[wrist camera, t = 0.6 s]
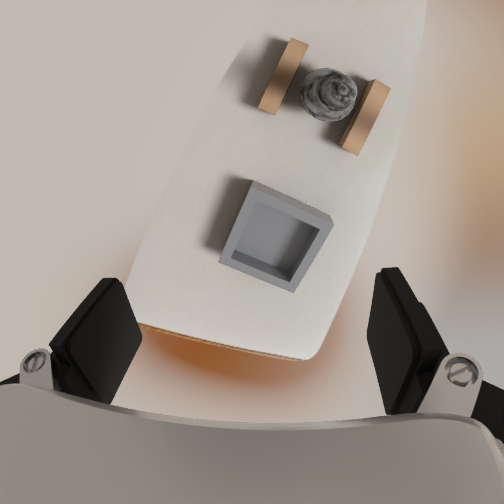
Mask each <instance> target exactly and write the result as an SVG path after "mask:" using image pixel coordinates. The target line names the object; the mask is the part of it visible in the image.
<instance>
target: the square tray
mask: <svg viewBox="0 0 504 504" xmlns="http://www.w3.org/2000/svg"><path fill="white" fill-rule="evenodd" d="M333 226H334V224H333V221H332V219H331V217H330V215H327V214H325V213H323V212H321V211H319V210H317V209H315V208H313V207H311V206H309V205H306V204H304V203H302V202H300V201H298V200H296V199H294V198H291V197H289V196H287V195H285V194H283V193H280V192H278V191H276V190H274V189H271V188H269V187H267V186H265V185H262V184H260V183H258V182H255V181H253V182H252V184H251V187H250V189H249V191H248V193H247V196H246V198H245V200H244V203H243V205H242V207H241V209H240V212H239V214H238V216H237V219H236V221H235V223H234V225H233V228H232V230H231V232H230V235H229V237H228V239H227V242H226V244H225V246H224V249H223V251H222V254H221V256H220V259H219V261H218V262H219V263H221V264H224V265H226V266H229V267H231V268H233V269H236V270H238V271H241V272H243V273H246V274H248V275H250V276H253V277H255V278H258V279H260V280H263V281H265V282H268V283H270V284H273V285H275V286H278V287H280V288H283V289H285V290H288V291H290V292H293V293H294V292H295V290H296V288H297V287H298V285H299V284H300V282H301V280H302V279H303V277H304V275H305V274H306V272H307V270H308V269H309V267H310V265H311V264H312V262H313V260H314V259H315V257H316V255H317V254H318V252H319V250H320V248H321V247H322V245H323V243H324V242H325V240H326V238H327V236H328V235H329V233H330V231H331V229H332V228H333Z"/></svg>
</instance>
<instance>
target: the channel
mask: <svg viewBox="0 0 504 504" xmlns="http://www.w3.org/2000/svg"><path fill="white" fill-rule="evenodd" d="M307 48H308V44H305V43H303V42H301V41H298V40H296V39H294V38H291V39H290V41H289V43H288V45H287V47H286V49H285V51H284V53H283V55H282V57H281V59H280V61H279V63H278V65H277V67H276V69H275V72H274V74H273V76H272V78H271V80H270V82H269V84H268V86H267V89H266V91H265V93H264V95H263V97H262V99H261V102H260V104H259V106H258V108H259V109H261V110H264V111H266V112H268V113H271V114H273V115H276V113H277V110H278V108H279V106H280V104H281V102H282V100H283V98H284V95H285V93H286V91H287V89H288V87H289V85H290V83H291V81H292V79H293V77H294V74H295V72H296V70H297V68H298V66H299V64H300V62H301V60H302V58H303V56H304V54H305V52H306V50H307ZM390 89H391V88H389V87H388V86H386V85H384V84H383V83H381V82H379V81H378V80H376V79H375V80H371V81H369V82H368V85H367V87H366V89H365V91H364V93H363V95H362V97H361V99H360V101H359V103H358V105H357V107H356V109H355V111H354V114H353V116H352V118H351V120H350V122H349V124H348V126H347V128H346V130H345V132H344V134H343V136H342V138H341V140H340V142H339V144H338V145H339V146H340V147H342V148H344V149H346V150H348V151H350V152H351V153H353V154H355V155H357V156H358V155H359V153H360V151H361V149H362V147H363V145H364V143H365V141H366V139H367V137H368V135H369V133H370V131H371V129H372V127H373V125H374V123H375V121H376V119H377V116H378V114H379V112H380V110H381V108H382V106H383V104H384V102H385V100H386V98H387V96H388V94H389V91H390Z"/></svg>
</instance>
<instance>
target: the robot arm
mask: <svg viewBox="0 0 504 504" xmlns="http://www.w3.org/2000/svg"><path fill="white" fill-rule="evenodd" d="M141 341H142V333H141V331H140V328H139V326H138V323H137V321H136V318H135V316H134V313H133V311H132V308H131V306H130V303H129V300H128V298H127V295H126V292H125V289H124V287H123V284H122V283H121V282H119V280H118V279H117V278H103V279H102V280H101V281H100V282H99V283H98V284H97V285H96V286H95V288H94V289H93V290H92V291H91V292H90V293H89V295H88V296H87V297H86V298H85V299H84V300H83V302H82V303H81V304H80V305H79V306H78V308H77V309H76V310H75V311H74V313H73V314H72V315H71V316H70V318H69V319H68V320H67V321H66V323H65V324H64V325H63V326H62V328H61V329H60V330H59V332H58V333H57V334H56V335H55V337H54V338H53V340H52V341H51V342H50V343H49V346H50V347H51V349H52V351H53V352H52V353H51V354H50V353H49V352H48V350H46V349H36V350H33V351H32V352H30V353H29V354H27V355H26V356H25V357H24V359H23V360H22V362H21V365H20V373H19V374H17V375H15V376H13V377H10V378H8V379H6V380H4V381H2V382H0V504H504V390H503V389H500V388H498V387H496V386H494V385H492V384H490V383H488V382H486V381H483V380H482V378H483V372H482V368H481V366H480V364H479V363H478V361H476V360H475V359H474V358H473V357H471V356H469V355H467V354H463V353H453V354H449V352H448V350H447V348H446V346H445V344H444V342H443V340H442V338H441V336H440V334H439V332H438V331H437V329H436V327H435V325H434V323H433V321H432V319H431V317H430V315H429V314H428V312H427V310H426V308H425V307H424V305H423V304H422V303H421V302H418V300H417V298H416V297H415V295H414V293H413V291H412V289H411V288H410V286H409V284H408V283H407V281H406V280H405V278H404V276H403V274H402V273H401V271H400V269H399V268H398V267H392V268H382V270H381V272H379V273H377V274H376V278H375V285H374V292H373V299H372V305H371V311H370V317H369V323H368V328H367V341H368V345H369V348H370V352H371V356H372V359H373V363H374V367H375V371H376V375H377V379H378V383H379V387H380V391H381V395H382V399H383V404H384V408H385V412H386V414H387V415H389V416H379V417H371V418H362V419H352V420H341V421H325V422H305V423H247V422H227V421H212V420H202V419H193V418H184V417H176V416H168V415H162V414H156V413H150V412H144V411H138V410H133V409H128V408H123V407H118V406H113V405H110V404H111V402H112V400H113V398H114V396H115V394H116V392H117V390H118V388H119V386H120V384H121V382H122V380H123V378H124V375H125V374H126V372H127V370H128V367H129V366H130V364H131V361H132V360H133V358H134V356H135V353H136V352H137V350H138V348H139V346H140V344H141Z"/></svg>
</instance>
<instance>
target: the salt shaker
mask: <svg viewBox="0 0 504 504" xmlns="http://www.w3.org/2000/svg"><path fill="white" fill-rule="evenodd" d="M356 97H357V87H356V84H355V83H354V81H353V80H352V79H351V78H349V77H348V76H346V75H344V74H342V73H341V72H339V71H337V70H334V69H329V68H323V69H318V70H315V71H312V72H311V73H310V74H308V75H307V76H306V77H305V79H304V80H303V82H302V84H301V87H300V99H301V102H302V104H303V106H304V108H305V109H306V111H307V112H308V113H309V114H310V115H312V116H313V117H314V118H317V119H319V120H321V121H327V122H332V121H338V120H341V119H343V118H344V117H346V116H347V115H348V114H349V113H350V112H351V111H352V109H353V107H354V104H355V99H356Z"/></svg>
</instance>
